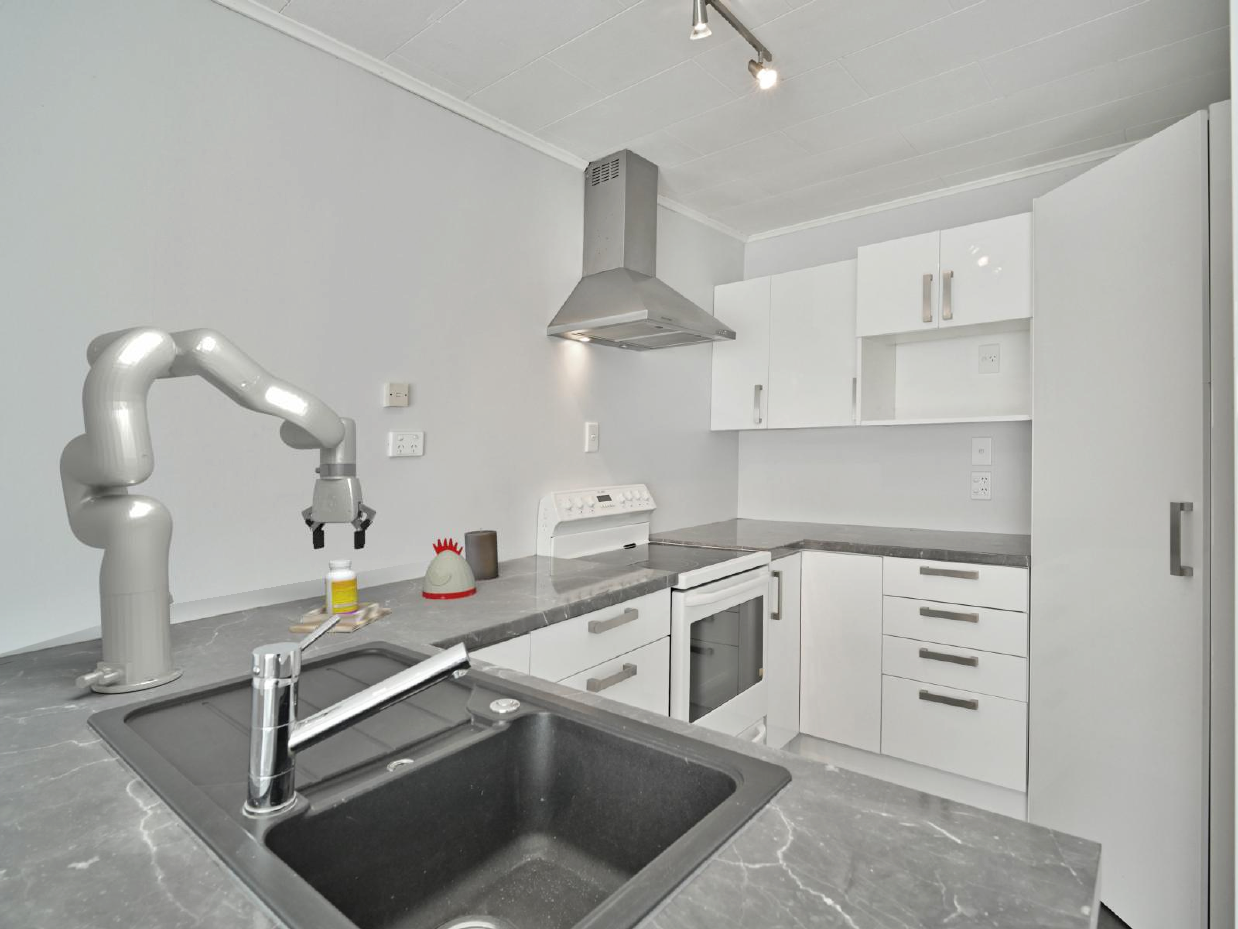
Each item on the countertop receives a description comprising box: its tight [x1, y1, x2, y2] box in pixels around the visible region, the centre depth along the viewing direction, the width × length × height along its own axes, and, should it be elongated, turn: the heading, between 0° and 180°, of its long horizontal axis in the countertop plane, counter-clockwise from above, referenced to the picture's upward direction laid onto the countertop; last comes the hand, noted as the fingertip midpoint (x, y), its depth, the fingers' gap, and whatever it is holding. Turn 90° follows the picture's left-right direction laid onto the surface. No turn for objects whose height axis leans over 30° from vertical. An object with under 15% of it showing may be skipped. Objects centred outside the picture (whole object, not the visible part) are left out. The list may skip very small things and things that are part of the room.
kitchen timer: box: [421, 537, 477, 601], centre depth 179 cm, size 14×14×15 cm
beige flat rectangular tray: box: [289, 602, 392, 634], centre depth 152 cm, size 18×14×3 cm
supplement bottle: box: [324, 558, 359, 614], centre depth 151 cm, size 7×7×13 cm
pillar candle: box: [464, 527, 500, 581], centre depth 202 cm, size 10×10×15 cm
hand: (339, 548), depth 151 cm, fingers open, 9 cm apart
